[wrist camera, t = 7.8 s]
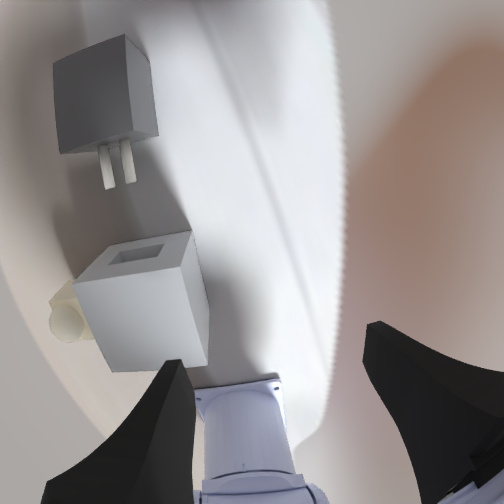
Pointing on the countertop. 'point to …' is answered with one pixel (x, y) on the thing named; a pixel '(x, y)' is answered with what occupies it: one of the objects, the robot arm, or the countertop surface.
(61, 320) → the night light
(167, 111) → the countertop surface
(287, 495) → the robot arm
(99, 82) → the block
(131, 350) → the socket cube
